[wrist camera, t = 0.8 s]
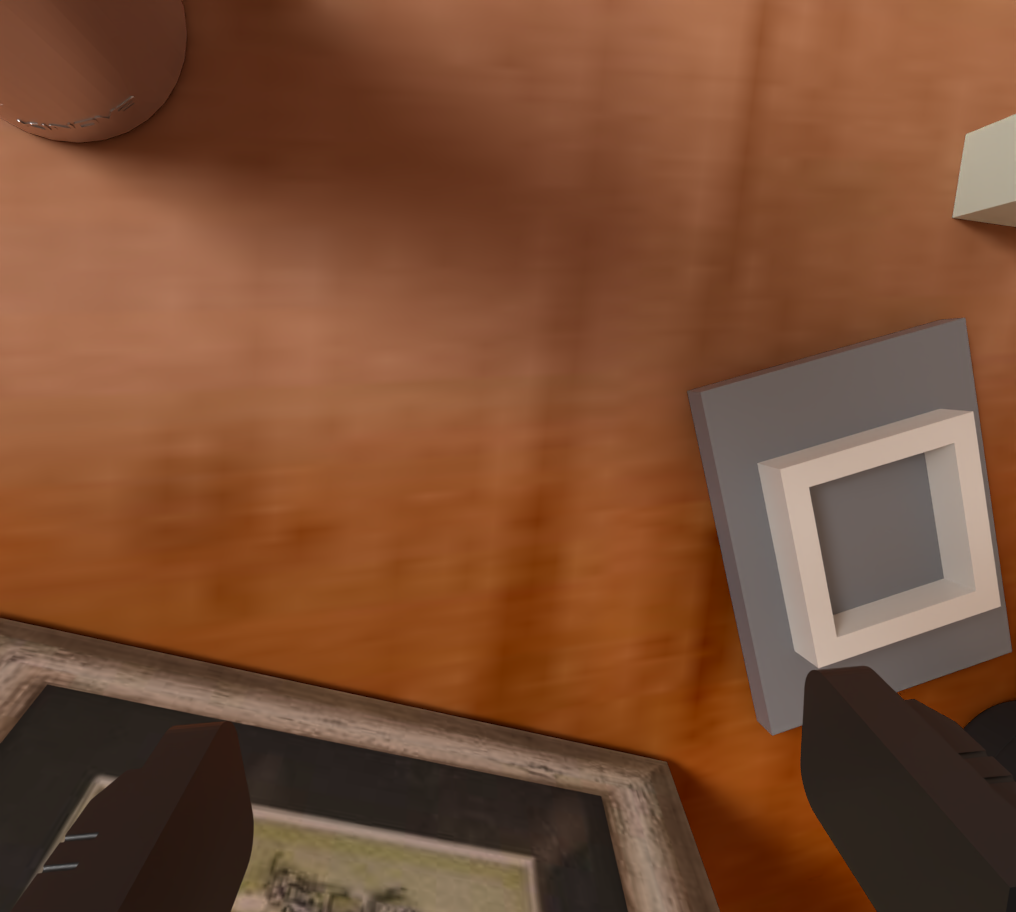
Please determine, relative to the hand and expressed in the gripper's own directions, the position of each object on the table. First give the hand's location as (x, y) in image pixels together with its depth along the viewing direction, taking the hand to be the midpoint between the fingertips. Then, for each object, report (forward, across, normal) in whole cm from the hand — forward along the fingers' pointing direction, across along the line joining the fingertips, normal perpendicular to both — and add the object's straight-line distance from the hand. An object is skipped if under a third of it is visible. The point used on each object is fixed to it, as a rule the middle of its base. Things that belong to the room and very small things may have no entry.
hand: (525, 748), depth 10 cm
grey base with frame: (+24, -18, +7) cm, 31 cm away
